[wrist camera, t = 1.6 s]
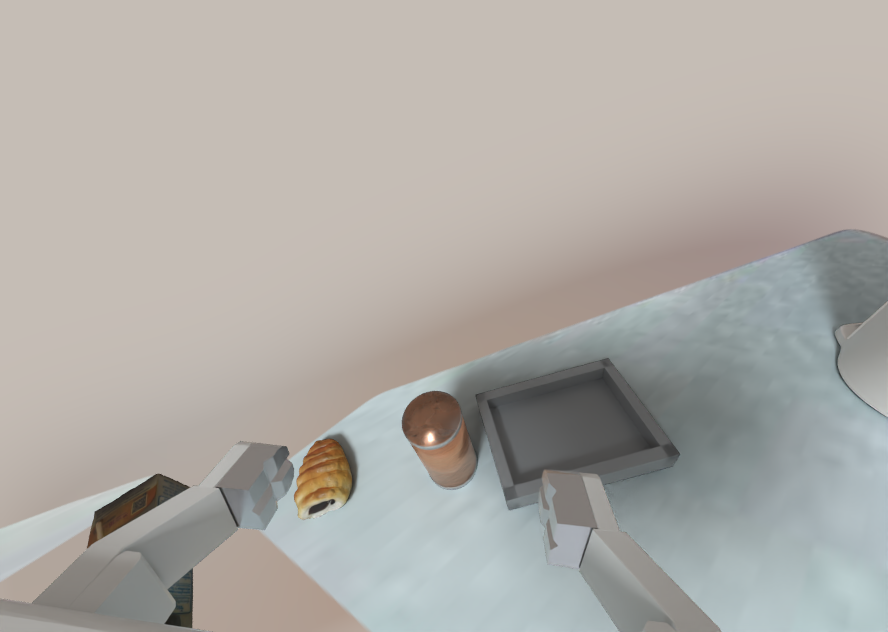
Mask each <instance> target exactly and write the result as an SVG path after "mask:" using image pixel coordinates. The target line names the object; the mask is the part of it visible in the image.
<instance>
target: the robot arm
mask: <svg viewBox="0 0 888 632" xmlns="http://www.w3.org/2000/svg"><path fill="white" fill-rule="evenodd" d="M835 336H836V338H837V340H838V342H839V344H840V346H841V351H840V354H839V357H838V368H839V371H840V374H841V376H842V378H843V379H844V381H845V382H846V383H847V385H848V386H849V387H850V388H851V389H852V390H853V391H854V392H855V393H856V394H857V395H858V396H859V397H860V398H861V399H862V400H863V401H865V402H866V403H867V404H869V405H870V406H871V407H873V408H874V409H876V410H877V411H879V412H880V413H882V414H883V415H885V416H886V417H888V301H887V302H886V303H885V304H884V305H883V306H881V307H880V308H879V309H878V310H877V311H876V312H875V313H874V314H873V315H871V316H870V317H869V318H868V319H867V320H866V321H865V322H862V323H853V324H845V325H842V326H841V327H839V328H838V329H837V330H836V331H835ZM288 455H289V451H288V449H287V447H286V446H277V445H270V444H261V443H252V442H243V441H240V442H238V443H237V444H235V445H234V446H233V447H232V448H231V450H230V451H229V452H228V453H227V454H226V455H225V456H224V457H223V459H222V460H221V461H220V462H219V463H218V464H217V465H216V466H215V467H214V469H213V470H212V471H211V472H210V473H209V474H208V475H207V477H206V478H205V479H204V480H203V481H202V482H201V483H200V485H199V486H192V487H190V488H189V489H187V490H185V491H183V492H182V493H180V494H178V495H176V496H175V497H173V498H171V499H169V500H168V501H166V502H164V503H163V504H161V505H159V506H157V507H156V508H154V509H152V510H150V511H149V512H147V513H145V514H143V515H142V516H140V517H138V518H137V519H135V520H133V521H131V522H130V523H128V524H126V525H124V526H123V527H121V528H119V529H117V530H116V531H114V532H112V533H111V534H109V535H107V536H105V537H104V538H102V539H100V540H98V541H97V542H95V543H93V544H92V545H91V546H90V547H89V548H88V549H87V550H86V551H85V552H84V553H83V554H82V555H81V556H80V557H78V558H77V559H76V560H75V561H74V562H73V563H72V564H71V565H70V566H69V567H68V568H67V569H66V570H65V571H64V572H63V573H62V574H61V575H60V576H59V577H58V578H57V579H56V580H55V581H54V582H53V583H52V584H51V585H50V586H49V587H48V588H47V589H46V590H45V591H44V592H43V593H42V594H41V595H40V596H38V597H37V598H36V599H35V600H34V601H33V602H32V603H26V602H20V601H13V600H7V599H1V598H0V632H210V631H204V630H198V629H192V628H186V627H179V626H173V625H166V624H165V622H166V621H167V619H168V618H169V616H170V615H171V613H172V612H173V610H174V609H175V607H176V601H175V599H174V598H173V597H172V595H171V594H170V593H169V591H168V590H167V589H168V588H170V587H171V586H172V585H173V584H174V583H175V582H177V581H178V580H179V579H180V578H181V577H183V576H184V575H185V574H186V573H187V572H188V571H190V570H191V569H192V568H193V567H194V566H196V565H197V564H198V563H199V562H200V561H201V560H203V559H204V558H205V557H206V556H207V555H209V554H210V553H211V552H212V551H213V550H215V548H217V547H218V546H219V545H220V544H222V543H223V542H224V541H225V540H226V539H228V538H229V537H230V536H231V535H232V534H233V533H235V532H236V531H237V530H238V528H246V529H257V530H265V529H266V527H267V526H268V524H269V522H270V521H271V519H272V517H273V516H274V514H275V512H276V511H277V509H278V506H277V501H278V500H279V499H281V498H282V497H283V496H285V495H286V494H287V492H288V490H289V488H290V487H291V484H292V480H293V477H294V468H293V464H292V463H291V462H290V461H289V460H288V459H287V457H288ZM542 482H543V486H542V487H540V490H539V502H538V506H539V516H540V522H541V524H542V525H543V526H544V527H545V532H544V536H543V541H544V547H545V553H546V559H547V564H549V565H556V566H562V567H569V568H576V569H579V572H580V573H581V575H582V576H583V578H584V579H585V581H586V582H587V584H588V585H589V587H590V588H591V590H592V591H593V593H594V594H595V596H596V597H597V598H598V600H599V601H600V603H601V604H602V606H603V607H604V609H605V610H606V612H607V613H608V615H609V616H610V618H611V619H612V621H613V622H614V624H615V625H616V627H617V628H618V630H619V631H620V632H721V630H720V628H719V627H718V626H717V625H716V624H715V623H714V622H713V621H712V620H711V619H710V618H709V617H708V616H707V615H706V614H705V613H704V612H703V611H702V610H701V609H700V608H699V607H698V606H697V605H696V604H695V603H694V602H693V601H692V600H691V599H690V598H689V596H688V595H687V594H686V593H685V592H684V591H683V590H682V589H681V588H680V587H679V586H678V585H677V584H676V583H675V582H674V581H673V580H672V579H671V578H670V577H669V576H668V575H667V574H666V573H665V572H664V571H663V570H662V569H661V568H660V567H659V566H658V565H657V564H656V563H655V562H654V561H653V560H652V559H651V557H650V556H649V555H648V554H647V553H646V552H645V551H644V550H643V549H642V548H641V547H640V546H639V545H638V544H637V543H636V542H635V541H634V540H633V539H632V538H631V537H630V536H629V535H628V534H627V533H626V532H621V531H620V530H619V527H618V524H617V522H616V519H615V516H614V514H613V511H612V508H611V506H610V503H609V500H608V498H607V495H606V492H605V490H604V487H603V484H602V482H601V479H600V477H599V476H598V475H597V474H590V473H578V472H571V471H558V470H546V469H545V470H544V471H543V474H542Z"/></svg>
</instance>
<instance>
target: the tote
mask: <svg viewBox="0 0 888 632" xmlns="http://www.w3.org/2000/svg"><path fill="white" fill-rule="evenodd" d="M476 399H477V402H478V406H479V410H480V413H481V417H482V420H483V424H484V427H485V430H486V434H487V437H488V441H489V444H490V448H491V451H492V454H493V458H494V461H495V465H496V468H497V472H498V475H499V478H500V482H501V485H502V489H503V492H504V496H505V499H506V503H507V506H508V509H509V510H512V509H516V508H520V507H523V506H527V505H531V504H535V503H538V502H539V490H540V487H542V486H543V482H542V474H543V471H544V470H545V469H546V470H558V471H571V472H578V473H590V474H597V475H598V476H599V477H600V479H601V482H602V484H603V485H605V484H609V483H613V482H616V481H620V480H624V479H627V478H631V477H635V476H639V475H642V474H646V473H650V472H654V471H657V470H661V469H665V468H668V467H672V466H673V465H674V463H675V462H676V460H677V458H678V457H679V455H680V453H679V452H678V450H677V449H676V448H675V446H674V445H673V444H672V442H671V441H670V440H669V438H668V437H667V436H666V434H665V433H664V432H663V430H662V429H661V428H660V426H659V425H658V424H657V422H656V421H655V420H654V418H653V417H652V416H651V414H650V413H649V412H648V410H647V409H646V408H645V406H644V405H643V404H642V402H641V401H640V400H639V398H638V397H637V396H636V394H635V393H634V392H633V390H632V389H631V388H630V386H629V385H628V384H627V382H626V381H625V380H624V378H623V377H622V376H621V374H620V373H619V372H618V370H617V369H616V368H615V366H614V365H613V364H612V362H611V361H610V360H609V358H607V359H604V360H600V361H596V362H593V363H589V364H586V365H582V366H578V367H575V368H571V369H567V370H564V371H560V372H557V373H553V374H549V375H546V376H542V377H538V378H535V379H531V380H527V381H524V382H520V383H517V384H513V385H509V386H506V387H502V388H498V389H495V390H491V391H487V392H484V393H480V394H477V395H476Z"/></svg>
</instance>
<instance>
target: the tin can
mask: <svg viewBox="0 0 888 632" xmlns="http://www.w3.org/2000/svg"><path fill="white" fill-rule="evenodd" d="M402 429H403V432H404V434H405V436H406V438H407V439H408V441H409V442H410V443H411V445H412V447H413V448H414V450H415V451H416V453H417V455H418V456H419V458H420V460H421V461H422V463H423V465H424V466H425V468H426V469H427V471H428V473H429V475H430V477H431V478H432V480H433V481H434V482H435V484H437V485H438V486H439V487H441V488H443V489H447V490H455V489H459V488H462V487H464V486H465V485H467V484H468V483H469V482H470V481H471V480H472V478H473V477H474V475H475V472H476V469H477V456H476V453H475V451H474V449H473V446H472V443H471V440H470V437H469V434H468V431H467V428H466V425H465V422H464V419H463V416H462V412H461V409H460V406H459V404H458V402H457V401H456V399H455V398H454V397H453V396H451V395H450V394H448V393H445V392H441V391H430V392H426V393H423V394H421V395H419V396H418V397H416V398H415V399H414V400H412V401H411V402H410V404H409V405H408V406H407V408H406V409H405V411H404V414H403V417H402Z"/></svg>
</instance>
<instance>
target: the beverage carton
mask: <svg viewBox="0 0 888 632" xmlns="http://www.w3.org/2000/svg"><path fill="white" fill-rule="evenodd" d="M189 488H190V487H188V486H187V485H183V484H182V483H180V482H178V481H175V480H173V479H171V478H169V477H166V476H163V475H161V474H156V475H154V476H152V477H151V478H149V479H148V480H147V481H145V482H143V483H142V484H140V485H138V486H137V487H135V488H133V489H131V490H129V491H128V492H126V493H125V494H123V495H121V496H120V497H119V498H117V499H116V500H114V501H113V502H111V503H109V504H107V505H105V506H104V507H102V508H101V509H99V510H97V511H95V515H94V520H93V523H92V527H91V531H90V536H89V541H88V546H87V549H88V548H89V547H90V546H91V545H92V544H93V543H95V542H97V541H98V540H100V539H102V538H104V537H105V536H107V535H109V534H111V533H112V532H114V531H116V530H117V529H119V528H121V527H123V526H124V525H126V524H128V523H130V522H131V521H133V520H135V519H137V518H138V517H140V516H142V515H143V514H145V513H147V512H149V511H150V510H152V509H154V508H156V507H157V506H159V505H161V504H163V503H164V502H166V501H168V500H169V499H171V498H173V497H175V496H176V495H178V494H180V493H182V492H183V491H185V490H187V489H189ZM167 590H168V591H169V593H170V594H171V595H172V597H173V598H174V599H175V601H176V607H175V609H174V610H173V612H172V613H171V615H170V616H169V618H168V619H167V621H166V622H165V624H166V625H173V626H179V627H186V628H192V605H193V568H192V569H191V570H190V571H188V572H187V573H186V574H185V575H184V576H183V577H181V578H180V579H179V580H178V581H177V582H175V583H174V584H173V585H172V586H171V587H170V588H168V589H167Z"/></svg>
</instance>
